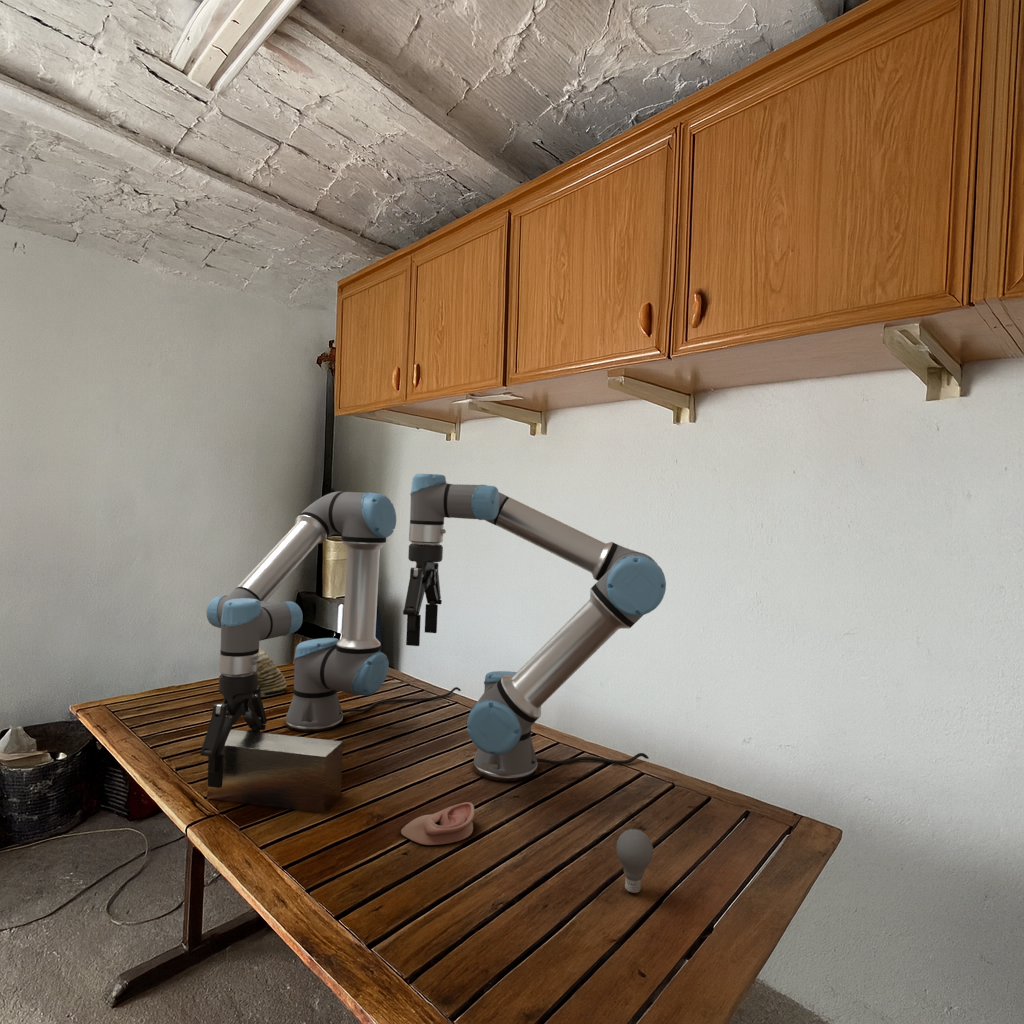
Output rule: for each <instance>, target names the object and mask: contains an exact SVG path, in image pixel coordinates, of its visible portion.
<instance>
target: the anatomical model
mask: <svg viewBox="0 0 1024 1024" xmlns="http://www.w3.org/2000/svg"><path fill="white" fill-rule="evenodd" d="M475 813H476V812H475V806H474V804H473V803H472V802H469V801H467V802H466V801H465V802H461V803H457V804H454V805H451V806H448V807H446V808H444V809H442V810H439V811H437V812H434V813H431V814H425V815H424V814H423V815H420V816H418V817H416V818H414V819H412V820H411V821H409V822H408V823H407V824H405V825H404V826H403V827H402V828H401V830H400V834H401V835H402V836H403V837H404V838H406V839H408V840H410V841H412V842H414V843H417V844H420V845H422V846H423V845H424V846H437V845H446V844H451V843H455V842H459V841H462V840H464V839H467V838H468V837H470V836H471V835H472V834H473V830H474V823H473V821H474V818H475V815H476V814H475Z"/></svg>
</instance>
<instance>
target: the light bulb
mask: <svg viewBox="0 0 1024 1024" xmlns="http://www.w3.org/2000/svg"><path fill="white" fill-rule="evenodd" d="M615 849H616V854H617V857H618V859H619V861H620V863H621V865H622V867H623V873H624V874H623V875H624V876H625V878H624V888H625V890H627V891H628V892H630V893H634V894H635V893H639V892H640V891H641V889H642V887H641V886H642V879H643V877H644V875H645V871H646V868H647V867H648V866H649V864H650V863H651V861H652V859H653V855H654V847H653V843H652V841H651V838H649V836H648V835H647V834H646V833H645V832H643V831H642V830H641V829H636V828H629V829H627V830H625V831H623V832H622V833H621V834H620V835H619V837H618V839H617V841H616V847H615Z"/></svg>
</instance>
